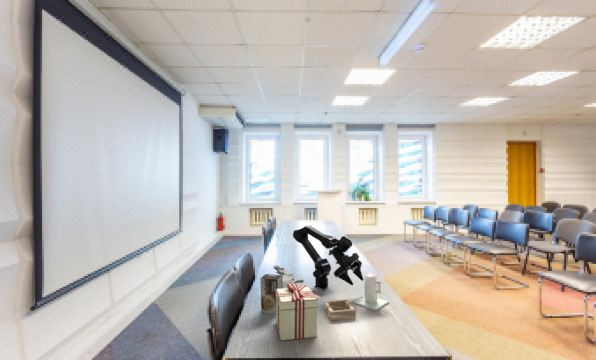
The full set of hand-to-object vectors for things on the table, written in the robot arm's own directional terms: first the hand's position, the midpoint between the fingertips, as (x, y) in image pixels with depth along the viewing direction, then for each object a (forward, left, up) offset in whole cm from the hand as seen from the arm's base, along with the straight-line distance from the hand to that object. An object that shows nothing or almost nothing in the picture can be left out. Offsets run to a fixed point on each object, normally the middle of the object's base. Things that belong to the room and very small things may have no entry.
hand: (357, 282), depth 149 cm
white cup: (-36, -14, -9) cm, 39 cm away
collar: (-4, -20, -8) cm, 22 cm away
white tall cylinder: (+8, -3, -8) cm, 12 cm away
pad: (+7, -3, -8) cm, 11 cm away
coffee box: (-34, -30, -9) cm, 46 cm away
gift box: (-15, -40, -9) cm, 43 cm away
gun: (-54, +18, -9) cm, 58 cm away
